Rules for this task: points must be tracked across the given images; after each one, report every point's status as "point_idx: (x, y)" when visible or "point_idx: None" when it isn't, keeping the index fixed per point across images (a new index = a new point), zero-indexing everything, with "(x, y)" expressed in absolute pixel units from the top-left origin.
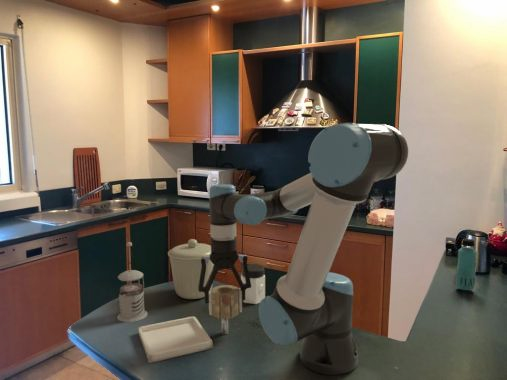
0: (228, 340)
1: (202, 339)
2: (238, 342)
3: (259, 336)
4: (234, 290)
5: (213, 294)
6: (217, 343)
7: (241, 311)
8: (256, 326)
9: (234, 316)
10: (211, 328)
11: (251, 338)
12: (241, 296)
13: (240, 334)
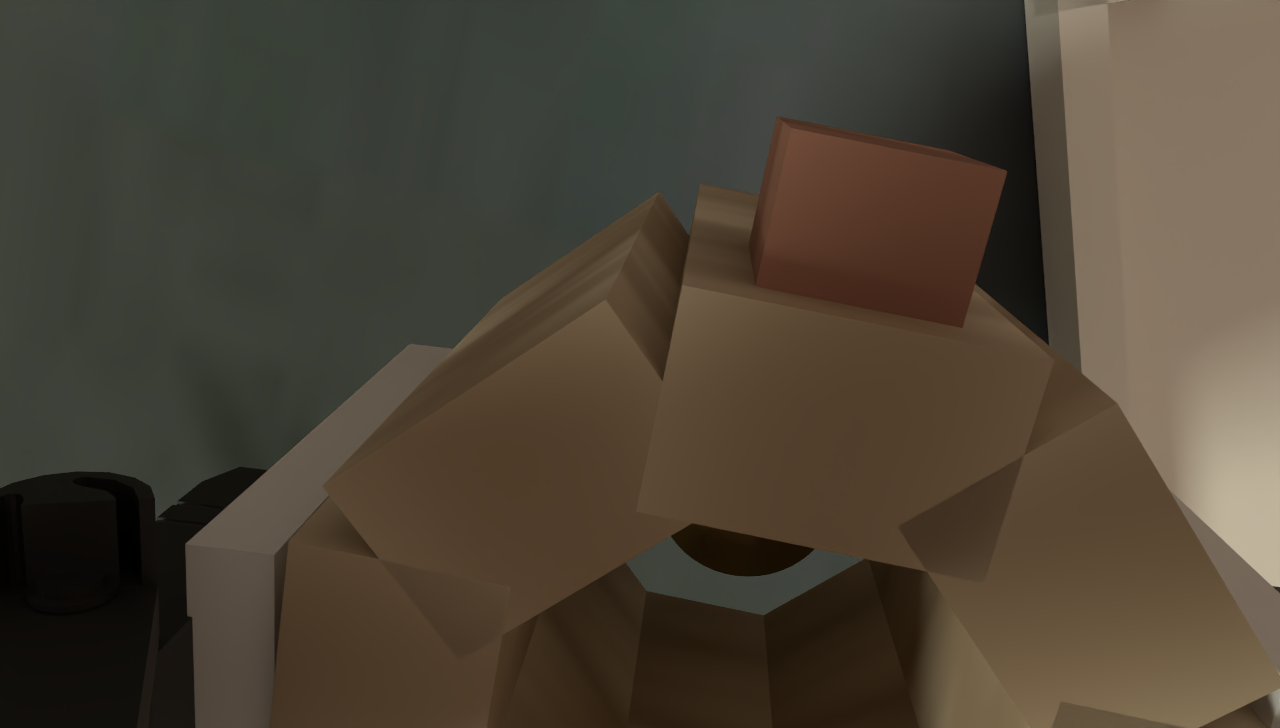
0: (741, 143)
1: (1130, 224)
2: (611, 43)
3: (280, 132)
4: (421, 643)
5: (1225, 604)
6: (918, 101)
7: (416, 348)
8: (269, 424)
9: (596, 236)
10: None
11: (403, 107)
12: (274, 476)
13: (534, 266)
